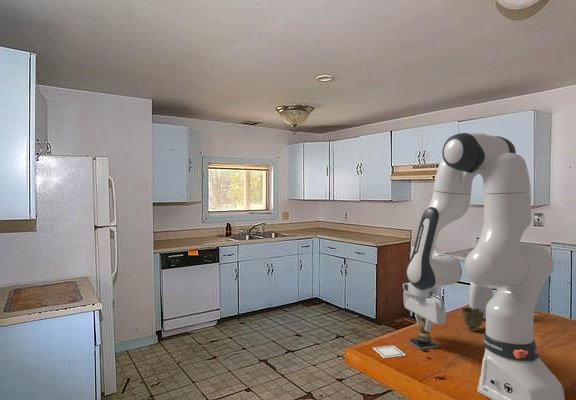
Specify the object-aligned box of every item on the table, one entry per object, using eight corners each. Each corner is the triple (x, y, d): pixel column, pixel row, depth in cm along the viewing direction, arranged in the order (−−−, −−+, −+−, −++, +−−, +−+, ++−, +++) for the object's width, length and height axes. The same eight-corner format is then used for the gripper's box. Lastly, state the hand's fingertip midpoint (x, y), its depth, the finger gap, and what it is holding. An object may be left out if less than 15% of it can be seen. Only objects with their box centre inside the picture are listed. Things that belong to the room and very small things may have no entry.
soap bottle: (482, 324, 151) (482, 257, 150) (463, 318, 157) (464, 254, 157) (501, 317, 158) (502, 254, 158) (483, 312, 165) (483, 251, 165)
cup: (487, 333, 140) (487, 312, 140) (467, 333, 140) (467, 312, 140) (477, 326, 148) (477, 306, 147) (459, 326, 148) (459, 306, 148)
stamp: (433, 342, 129) (433, 313, 129) (422, 343, 128) (421, 314, 127) (425, 337, 133) (425, 309, 133) (414, 338, 132) (414, 310, 132)
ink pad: (438, 347, 128) (438, 344, 128) (419, 349, 126) (419, 346, 126) (426, 339, 135) (426, 336, 135) (408, 341, 133) (408, 338, 133)
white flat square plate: (406, 355, 122) (406, 354, 122) (383, 358, 120) (383, 357, 120) (393, 345, 130) (393, 345, 130) (372, 348, 128) (372, 347, 128)
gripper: (450, 296, 121) (451, 338, 121) (415, 282, 141) (415, 318, 141) (433, 297, 119) (434, 340, 119) (400, 283, 139) (400, 320, 139)
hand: (423, 328), depth 130 cm, fingers closed on stamp, 3 cm apart
